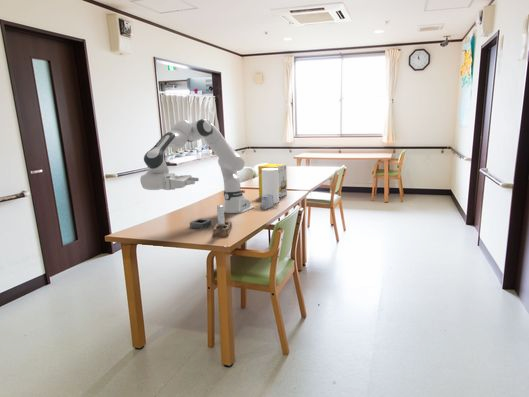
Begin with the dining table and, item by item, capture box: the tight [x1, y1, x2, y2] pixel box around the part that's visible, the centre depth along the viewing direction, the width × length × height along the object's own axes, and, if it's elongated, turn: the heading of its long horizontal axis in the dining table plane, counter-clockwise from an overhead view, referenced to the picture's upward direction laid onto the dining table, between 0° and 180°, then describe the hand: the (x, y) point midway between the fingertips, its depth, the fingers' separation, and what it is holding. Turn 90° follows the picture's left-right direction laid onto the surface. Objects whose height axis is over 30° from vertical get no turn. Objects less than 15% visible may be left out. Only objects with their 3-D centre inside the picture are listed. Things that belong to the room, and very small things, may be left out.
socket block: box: [189, 218, 213, 230], centre depth 225 cm, size 9×9×3 cm
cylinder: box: [262, 168, 280, 204], centre depth 280 cm, size 12×12×25 cm
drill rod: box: [216, 204, 226, 229], centre depth 206 cm, size 4×4×16 cm
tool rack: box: [212, 221, 233, 237], centre depth 211 cm, size 8×15×4 cm, turn 178°
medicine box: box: [260, 195, 274, 210], centre depth 265 cm, size 8×4×9 cm, turn 141°
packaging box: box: [257, 163, 288, 198], centre depth 301 cm, size 16×16×25 cm
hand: (196, 180), depth 202 cm, fingers open, 8 cm apart
